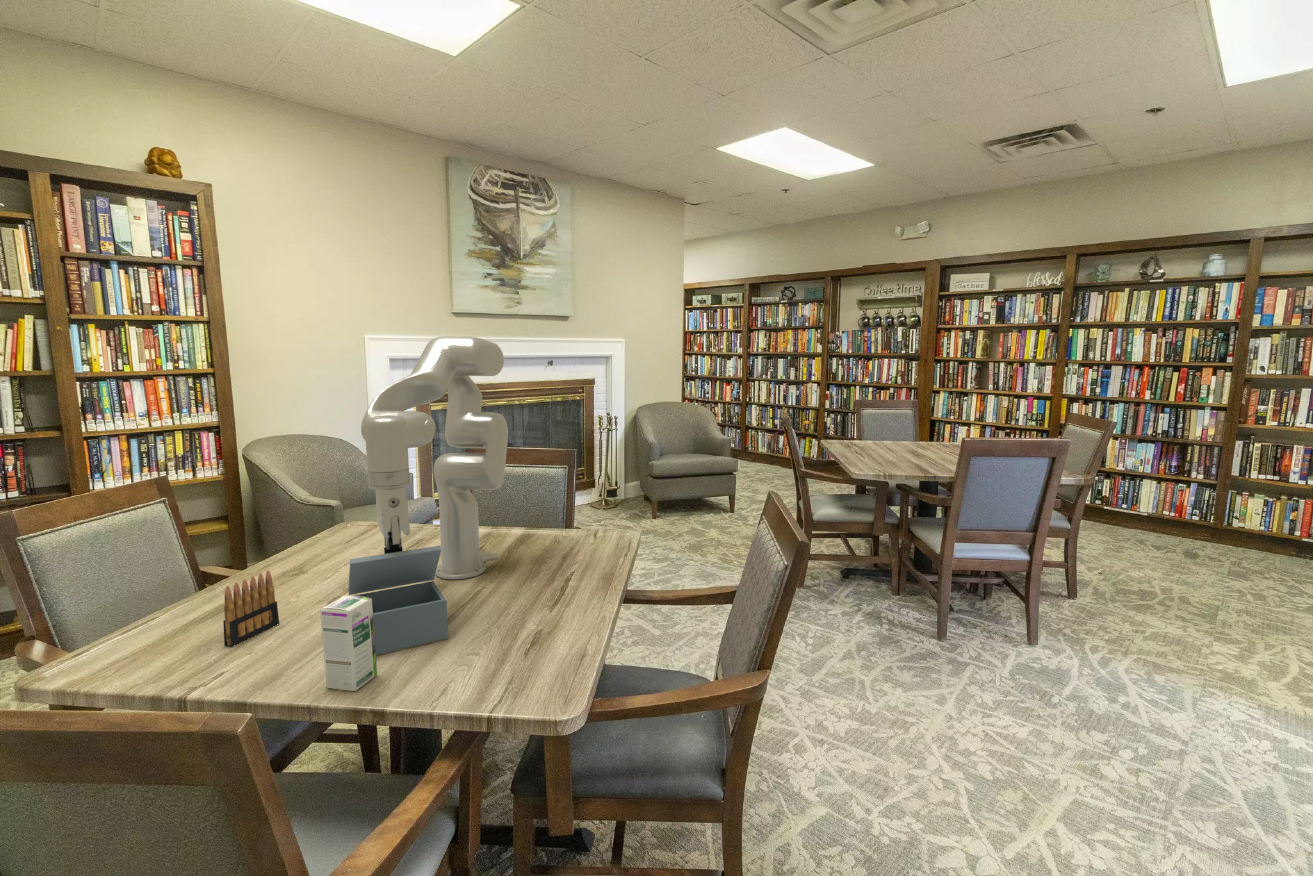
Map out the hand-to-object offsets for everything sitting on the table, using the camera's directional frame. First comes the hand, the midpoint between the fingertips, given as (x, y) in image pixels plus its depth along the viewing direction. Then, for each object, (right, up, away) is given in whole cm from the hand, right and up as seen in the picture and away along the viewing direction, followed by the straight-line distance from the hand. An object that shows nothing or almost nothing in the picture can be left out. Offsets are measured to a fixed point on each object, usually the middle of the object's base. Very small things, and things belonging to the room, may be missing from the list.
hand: (394, 566), depth 121 cm
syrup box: (+1, -16, -18) cm, 24 cm away
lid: (+1, -1, -1) cm, 2 cm away
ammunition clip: (-28, -14, -1) cm, 31 cm away
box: (+2, -14, -1) cm, 14 cm away
